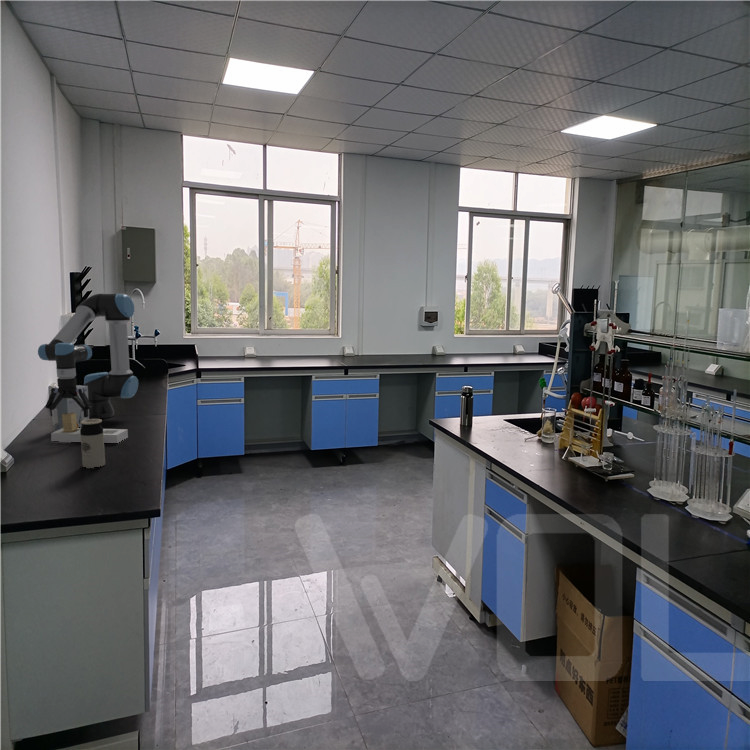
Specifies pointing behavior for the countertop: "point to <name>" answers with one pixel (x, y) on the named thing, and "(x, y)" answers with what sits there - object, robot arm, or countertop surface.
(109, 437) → the white compartment tray
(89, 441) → the travel mug
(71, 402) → the hard drive box
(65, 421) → the wooden block
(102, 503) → the countertop surface
